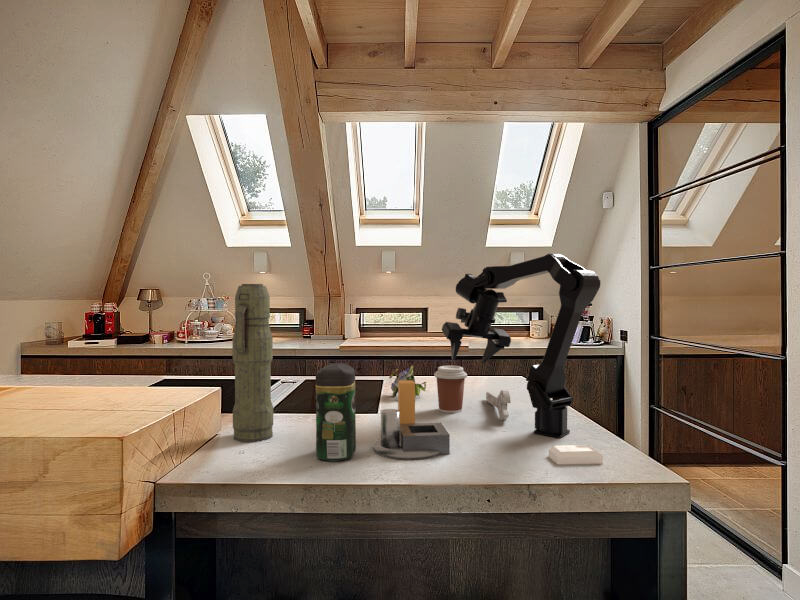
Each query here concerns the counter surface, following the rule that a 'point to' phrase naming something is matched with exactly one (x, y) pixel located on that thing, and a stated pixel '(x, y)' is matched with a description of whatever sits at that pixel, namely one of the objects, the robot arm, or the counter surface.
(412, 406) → the wooden block
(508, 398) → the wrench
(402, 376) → the passion flower
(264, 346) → the thermos
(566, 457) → the soap bar
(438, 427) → the desk organizer stand
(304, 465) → the counter surface
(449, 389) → the coffee cup
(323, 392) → the coffee jar
